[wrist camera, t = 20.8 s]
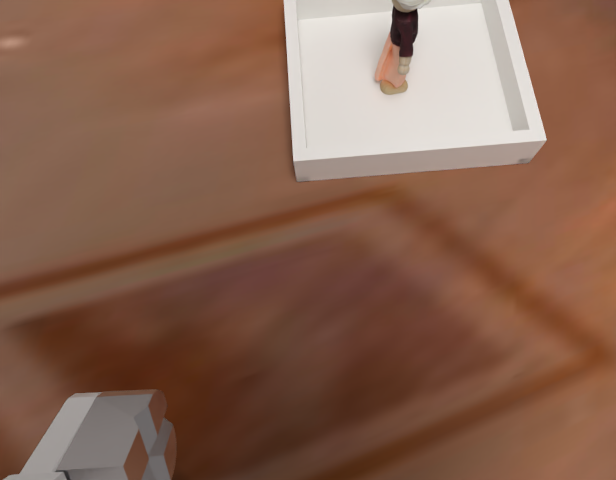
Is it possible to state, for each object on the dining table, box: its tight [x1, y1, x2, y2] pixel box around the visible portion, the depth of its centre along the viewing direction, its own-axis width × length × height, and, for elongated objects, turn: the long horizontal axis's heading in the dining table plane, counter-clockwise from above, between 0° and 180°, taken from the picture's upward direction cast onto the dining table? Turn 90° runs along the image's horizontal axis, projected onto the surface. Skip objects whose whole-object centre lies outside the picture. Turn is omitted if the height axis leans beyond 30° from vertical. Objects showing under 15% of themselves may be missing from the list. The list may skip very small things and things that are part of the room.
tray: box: [284, 0, 547, 182], centre depth 46 cm, size 22×20×4 cm
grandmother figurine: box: [375, 0, 431, 95], centre depth 41 cm, size 8×4×13 cm, turn 7°
